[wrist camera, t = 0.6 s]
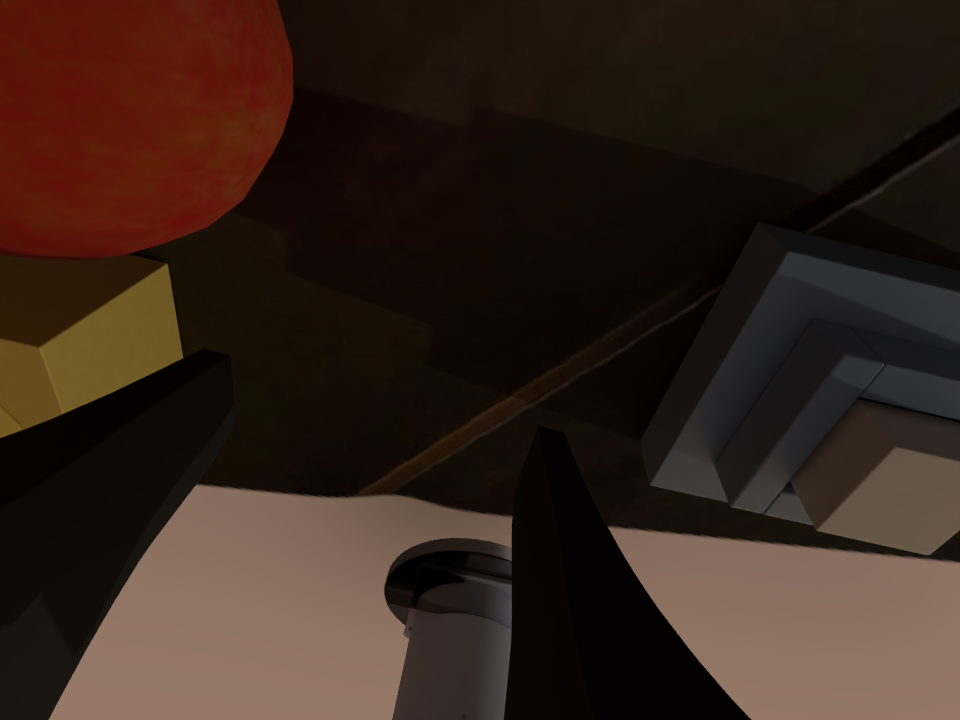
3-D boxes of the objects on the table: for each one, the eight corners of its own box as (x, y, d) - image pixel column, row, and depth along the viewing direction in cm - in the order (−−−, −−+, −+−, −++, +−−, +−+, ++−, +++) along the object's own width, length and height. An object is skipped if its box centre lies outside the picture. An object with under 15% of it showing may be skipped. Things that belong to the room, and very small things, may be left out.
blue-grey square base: (858, 490, 22) (921, 585, 18) (639, 441, 22) (658, 528, 18) (1049, 291, 17) (1195, 370, 13) (757, 221, 16) (820, 281, 13)
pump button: (890, 502, 17) (929, 556, 15) (787, 479, 17) (815, 531, 15) (971, 424, 15) (1025, 476, 13) (855, 397, 15) (895, 446, 13)
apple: (423, 8, 14) (214, -9, 5) (281, 228, 18) (26, 435, 9) (122, -296, 11) (-1427, -1457, 2) (35, 41, 15) (-660, 75, 6)
